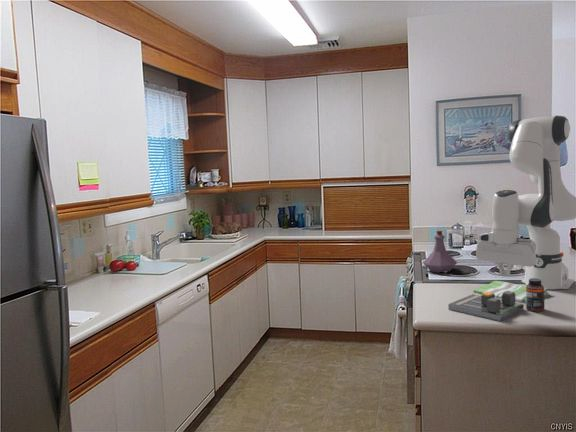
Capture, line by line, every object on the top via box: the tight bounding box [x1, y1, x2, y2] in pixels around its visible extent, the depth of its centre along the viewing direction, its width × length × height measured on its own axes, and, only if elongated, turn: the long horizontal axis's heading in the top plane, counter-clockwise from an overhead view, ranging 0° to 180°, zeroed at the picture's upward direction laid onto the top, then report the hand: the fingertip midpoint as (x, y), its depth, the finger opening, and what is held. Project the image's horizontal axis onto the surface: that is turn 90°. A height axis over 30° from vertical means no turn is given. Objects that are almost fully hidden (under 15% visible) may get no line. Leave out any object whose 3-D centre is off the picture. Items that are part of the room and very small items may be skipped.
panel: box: [447, 293, 525, 322], centre depth 178 cm, size 17×20×2 cm
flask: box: [422, 230, 458, 273], centre depth 238 cm, size 16×16×20 cm
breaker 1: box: [487, 297, 501, 313], centre depth 170 cm, size 4×3×4 cm
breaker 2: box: [501, 291, 516, 305], centre depth 177 cm, size 4×3×4 cm
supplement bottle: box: [525, 278, 545, 313], centre depth 174 cm, size 6×6×11 cm
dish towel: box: [473, 280, 549, 304], centre depth 196 cm, size 17×23×4 cm
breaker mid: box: [480, 292, 496, 305], centre depth 177 cm, size 4×3×4 cm
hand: (505, 275), depth 171 cm, fingers closed
